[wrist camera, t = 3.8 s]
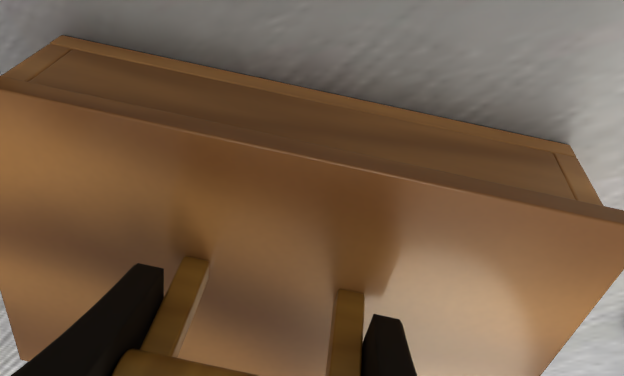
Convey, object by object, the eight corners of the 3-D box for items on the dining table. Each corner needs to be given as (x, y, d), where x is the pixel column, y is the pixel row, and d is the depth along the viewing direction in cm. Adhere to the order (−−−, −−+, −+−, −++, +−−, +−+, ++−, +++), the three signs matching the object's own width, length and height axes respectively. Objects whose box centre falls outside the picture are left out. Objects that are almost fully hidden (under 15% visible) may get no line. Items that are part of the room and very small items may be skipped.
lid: (-45, 65, 11) (-291, 205, 7) (643, 213, 11) (786, 435, 7) (30, 345, 17) (-79, 505, 13) (474, 439, 17) (500, 628, 13)
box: (61, 34, 15) (-34, 96, 12) (570, 144, 15) (622, 238, 12) (89, 257, 21) (31, 343, 17) (460, 337, 21) (474, 438, 17)
